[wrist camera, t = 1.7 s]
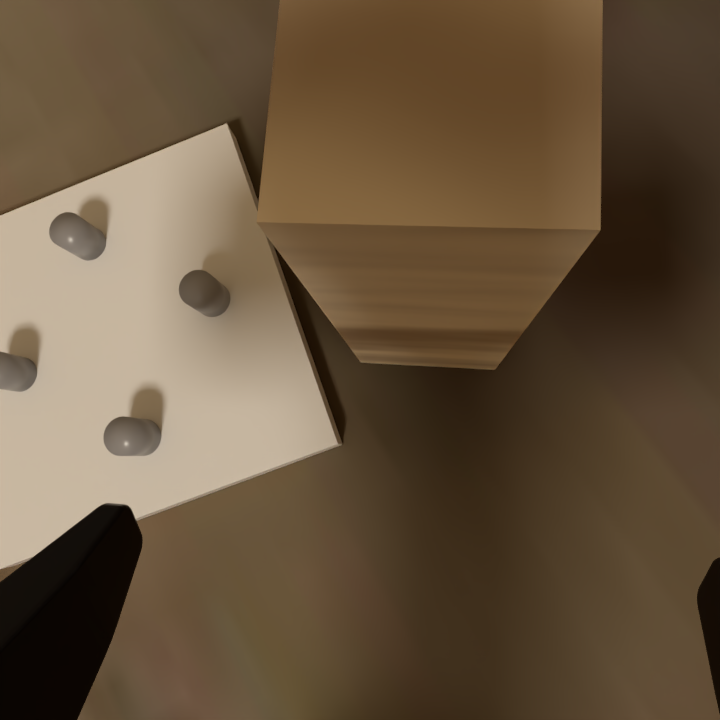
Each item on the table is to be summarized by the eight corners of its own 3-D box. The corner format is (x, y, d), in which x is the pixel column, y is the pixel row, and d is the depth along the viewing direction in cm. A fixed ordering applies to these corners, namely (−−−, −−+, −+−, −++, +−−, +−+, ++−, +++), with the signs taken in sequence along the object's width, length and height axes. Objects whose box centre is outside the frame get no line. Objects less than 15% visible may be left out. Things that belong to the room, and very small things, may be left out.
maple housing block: (494, 369, 22) (600, 229, 8) (361, 362, 23) (256, 222, 9) (499, 241, 23) (603, -79, 9) (369, 237, 24) (286, -65, 10)
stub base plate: (342, 444, 22) (330, 443, 20) (17, 564, 23) (-39, 579, 20) (236, 139, 25) (212, 99, 22) (-52, 255, 26) (-109, 231, 23)
